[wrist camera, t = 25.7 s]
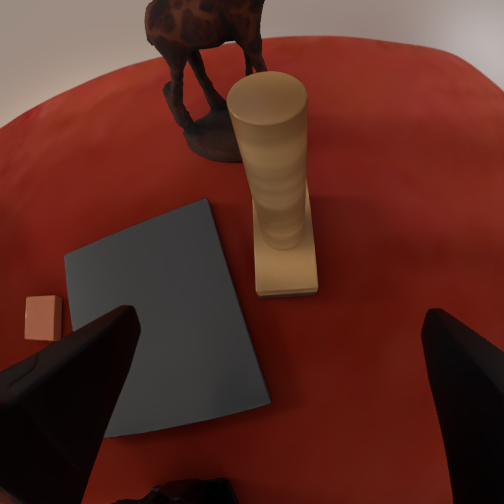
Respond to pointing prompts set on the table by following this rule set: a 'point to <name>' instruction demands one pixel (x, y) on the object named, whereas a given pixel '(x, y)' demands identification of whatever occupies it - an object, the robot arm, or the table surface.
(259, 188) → the tan wooden tall post
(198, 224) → the board
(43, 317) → the block
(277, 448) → the table surface
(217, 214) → the table surface
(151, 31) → the statue
